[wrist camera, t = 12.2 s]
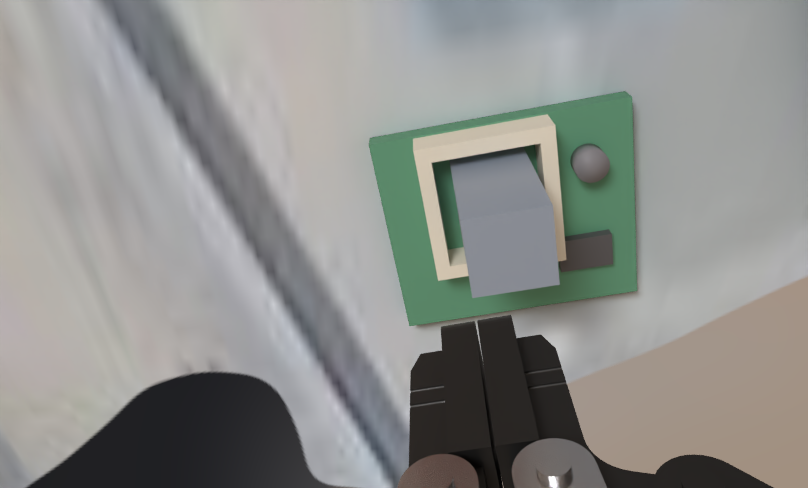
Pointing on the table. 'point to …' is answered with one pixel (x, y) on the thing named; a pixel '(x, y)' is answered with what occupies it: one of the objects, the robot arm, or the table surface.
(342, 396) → the table surface
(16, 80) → the table surface
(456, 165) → the plug
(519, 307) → the board
